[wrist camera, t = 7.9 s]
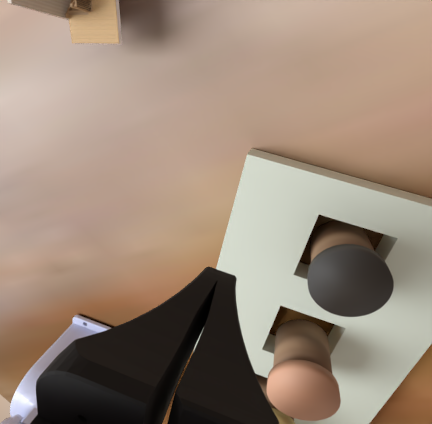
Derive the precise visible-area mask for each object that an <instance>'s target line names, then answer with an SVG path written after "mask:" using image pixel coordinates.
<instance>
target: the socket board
mask: <svg viewBox="0 0 432 424" xmlns="http://www.w3.org/2000/svg"><path fill="white" fill-rule="evenodd" d="M318 215H322V216H326V217H329V218H332V219H336V220H339V221H342V222H346V223H349V224H352V225H355V226H359V227H362V228H365V229H369V230H372V231H375V232H379V233H382V234H384V235H383V237H382V239H381V241H380V243H379V244H378V246H377V248H376V250H375V252H376V253H378V254H379V255H380V256H381V257H382V258H383V259H384V261H385V262H386V264H387V266H388V268H389V270H390V272H391V274H392V277H393V281H394V288H393V292H392V295H391V297H390V299H389V300H388V302H387V303H386V304H385V305H384V306H383V307H381V308H380V309H379V310H377V311H375V312H373V313H371V314H368V315H365V316H359V317H343V316H338V315H335V314H332V313H330V312H327V311H326V310H324V309H322V308H321V307H320V306H319V305H317V304H316V302H315V301H314V300H313V299H312V297H311V295H310V293H309V290H308V281H307V273H308V268H309V265H307V264H304V263H301V262H299V260H300V258H301V256H302V253H303V251H304V248H305V246H306V244H307V241H308V239H309V237H310V234H311V232H312V229H313V227H314V225H315V222H316V220H317V218H318ZM216 269H217V270H220V271H223V272H226V273H229V274H232V275H235V276H236V278H237V280H236V303H237V311H238V317H239V323H240V328H241V332H242V336H243V340H244V343H245V347H246V350H247V353H248V356H249V359H250V362H251V364H252V367H253V369H254V372H255V374H258V375H261V376H263V377H266V378H268V374H269V372H270V370H271V369H272V368H273V362H274V350H275V338H276V336H275V335H272V334H269V332H270V329H271V327H272V325H273V322H274V320H275V317H276V315H277V313H278V310H279V308H280V306H283V307H286V308H289V309H292V310H295V311H298V312H301V313H303V314H306V315H309V316H312V317H315V318H318V319H321V320H324V321H326V322H329V323H332V324H335V325H334V326H333V328H332V330H331V332H330V334H329V335H328V342H329V350H330V358H331V366H332V374H333V376H334V377H335V378H336V380H337V382H338V385H339V392H340V399H341V403H340V407H339V409H338V411H337V412H336V413H335V414H334V415H332V416H331V417H329V418H326V419H323V420H318V421H306V420H300V419H296V418H294V422H295V424H369V423H370V422H371V421H372V419H373V418H374V417H375V416H376V414H377V413H378V412H379V410H380V409H381V408H382V407H383V405H384V404H385V403H386V401H387V400H388V399H389V398H390V396H391V395H392V394H393V393H394V391H395V390H396V389H397V387H398V386H399V385H400V384H401V382H402V381H403V380H404V378H405V377H406V376H407V375H408V373H409V372H410V371H411V369H412V368H413V367H414V366H415V364H416V363H417V362H418V360H419V359H420V358H421V357H422V355H423V354H424V353H425V352H426V350H427V349H428V348H429V346H430V345H431V344H432V199H431V198H427V197H424V196H420V195H417V194H413V193H410V192H406V191H402V190H399V189H395V188H392V187H388V186H385V185H381V184H378V183H374V182H370V181H367V180H363V179H360V178H356V177H353V176H349V175H346V174H342V173H338V172H335V171H331V170H328V169H324V168H321V167H317V166H313V165H310V164H306V163H303V162H299V161H296V160H292V159H289V158H285V157H281V156H278V155H274V154H271V153H267V152H264V151H260V150H257V149H253V148H251V150H250V151H249V153H248V154H247V157H246V161H245V165H244V168H243V172H242V176H241V179H240V183H239V187H238V190H237V194H236V198H235V201H234V205H233V209H232V212H231V216H230V220H229V223H228V227H227V231H226V234H225V238H224V242H223V245H222V249H221V253H220V256H219V260H218V264H217V267H216ZM203 329H204V328H203ZM202 331H203V330H202ZM201 333H202V332H201ZM200 336H201V334H200ZM200 336H199V338H200ZM198 341H199V339H198ZM198 341H197V343H198ZM197 343H196V345H197ZM196 345H195V348H196ZM195 348H194V350H195Z"/></svg>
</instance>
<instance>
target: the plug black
mask: <svg viewBox="0 0 432 424" xmlns="http://www.w3.org/2000/svg"><path fill="white" fill-rule="evenodd" d="M310 253H311V264H310V265H309V268H308V273H307V281H308V290H309V293H310V295H311V297H312V299H313V300H314V301H315V302H316V304H317V305H319V306H320V307H321V308H322V309H324V310H326V311H327V312H330V313H332V314H335V315H338V316H343V317H359V316H365V315H368V314H371V313H373V312H375V311H377V310H379V309H380V308H381V307H383V306H384V305H385V304H386V303H387V302H388V300H389V299H390V297H391V295H392V292H393V288H394V281H393V277H392V274H391V272H390V270H389V268H388V266H387V264H386V262H385V261H384V259H383V258H382V257H381V256H380V255H379V254H378V253H376V252H375V251H374V249H373V247H372V245H371V242H370V240H369V238H368V236H367V234H366V232H365V231H364V230H363V229H362V228H361V227H359V226H355V225H352V224H349V223H346V222H342V221H339V220H336V221H331V222H328V223H325V224H323V225H322V226H320V227H319V228H318V229H317V230H316V231H315V232H314V233H313V235H312V237H311V240H310Z"/></svg>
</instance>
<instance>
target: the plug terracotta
mask: <svg viewBox="0 0 432 424" xmlns="http://www.w3.org/2000/svg"><path fill="white" fill-rule="evenodd" d="M267 396H268V398H269V400H270V402H271V403H272V404H273V405H274V406H275V407H276V408H277V409H278V410H279V411H281V412H282V413H284V414H286V415H288V416H290V417H293V418H296V419H300V420H306V421H318V420H323V419H326V418H329V417H331V416H332V415H334V414H335V413H336V412H337V411H338V409H339V407H340V403H341V399H340V392H339V385H338V382H337V380H336V378H335V377H334V376H333V374H332V366H331V358H330V350H329V342H328V337H327V334H326V333H325V331H324V330H323V329H322V328H321V327H320V326H318V325H317V324H315V323H313V322H311V321H307V320H301V319H296V320H290V321H287V322H285V323H283V324H282V325H281V326H280V327H279V328H278V330H277V332H276V338H275V350H274V362H273V368H272V369H271V370H270V372H269V374H268V379H267Z"/></svg>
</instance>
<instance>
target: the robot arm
mask: <svg viewBox="0 0 432 424" xmlns="http://www.w3.org/2000/svg"><path fill="white" fill-rule="evenodd" d="M236 280H237V278H236V276H235V275H232V274H229V273H226V272H223V271H220V270H217V269H214V268H211V267H206V268H205V269H204V270H203V271H202V272H201V273H200V274H199V275H198V276H197V277H196V278H195V279H194V280H193V281H192V282H191V283H189V284H188V285H187V286H186V287H185V288H183V289H182V290H181V291H180V292H178V293H177V294H175V295H174V296H173V297H171V298H170V299H168V300H167V301H165V302H164V303H162V304H161V305H159V306H157V307H156V308H154V309H152V310H151V311H149V312H147V313H145V314H143V315H141V316H139V317H137V318H135V319H133V320H131V321H128V322H126V323H124V324H121V325H119V326H116V327H114V328H111V327H108V326H106V325H103V324H100V323H98V322H95V321H93V320H90V319H87V318H85V317H82V316H80V315H75V316H74V317H73V323H72V325H71V326H70V327H69V328H68V329H67V330H66V331H65V332H64V333H63V334H62V335H61V336H60V337H59V338H58V339H57V341H56V342H55V343H54V344H53V345H52V346H51V347H50V348H49V349H48V350H47V351H46V352H45V353H44V354H43V355H42V357H41V358H40V359H39V360H38V361H37V362H36V363H35V364H34V365H33V366H32V367H31V369H30V370H29V371H28V372H27V374H26V375H25V377H24V378H23V380H22V381H21V383H20V384H19V386H18V388H17V390H16V392H15V394H14V396H13V399H12V402H11V407H10V415H11V417H9V418H6V419H5V420H3V421H2V422H1V423H0V424H162V423H163V420H164V417H165V415H166V412H167V409H168V407H169V404H170V401H171V399H172V396H173V394H174V391H175V388H176V386H177V383H178V380H179V378H180V376H181V374H182V371H183V369H184V367H185V365H186V363H187V361H188V359H189V357H190V355H191V353H192V351H193V349H194V347H195V345H196V343H197V341H198V339H199V341H198V343H197V345H196V348H195V350H194V352H193V355H192V357H191V359H190V361H189V364H188V366H187V368H186V370H185V373H184V375H183V377H182V379H181V381H180V384H179V386H178V388H177V390H176V392H175V396H174V400H173V404H172V408H171V412H170V416H169V420H168V424H279V421H278V419H277V417H276V415H275V413H274V412H273V410H272V408H271V406H270V404H269V402H268V400H267V398H266V397H265V394H264V392H263V390H262V388H261V386H260V384H259V382H258V379H257V377H256V374H255V372H254V369H253V367H252V364H251V362H250V359H249V356H248V353H247V350H246V347H245V343H244V340H243V336H242V332H241V328H240V323H239V317H238V311H237V303H236ZM203 328H204V329H203ZM202 330H203V331H202ZM201 332H202V333H201ZM200 334H201V336H200ZM199 336H200V338H199Z"/></svg>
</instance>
